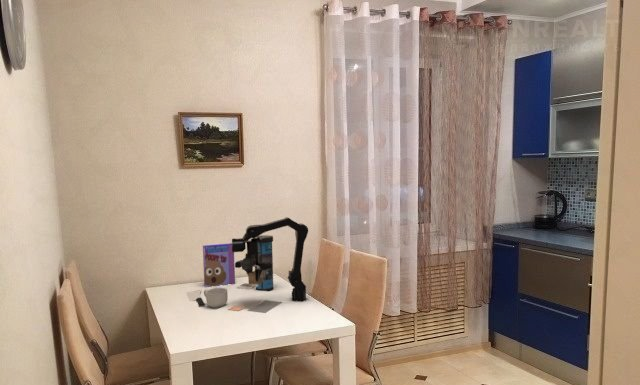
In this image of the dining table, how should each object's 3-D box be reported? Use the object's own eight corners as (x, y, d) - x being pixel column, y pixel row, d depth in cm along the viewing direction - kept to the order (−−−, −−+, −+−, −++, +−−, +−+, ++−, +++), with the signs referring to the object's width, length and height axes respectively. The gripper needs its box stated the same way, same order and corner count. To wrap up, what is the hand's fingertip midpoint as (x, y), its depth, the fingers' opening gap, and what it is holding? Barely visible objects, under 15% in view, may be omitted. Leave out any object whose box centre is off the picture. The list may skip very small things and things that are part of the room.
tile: (245, 306, 218) (238, 310, 212) (245, 309, 218) (238, 313, 212) (234, 305, 220) (227, 309, 215) (234, 308, 220) (227, 312, 215)
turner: (254, 280, 231) (253, 269, 231) (267, 281, 228) (267, 270, 228) (236, 288, 217) (236, 276, 217) (250, 289, 214) (250, 277, 213)
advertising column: (278, 288, 253) (277, 236, 251) (263, 293, 244) (261, 239, 243) (265, 285, 260) (263, 234, 259) (250, 289, 252) (248, 237, 250)
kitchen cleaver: (182, 291, 249) (200, 287, 252) (183, 294, 249) (201, 290, 253) (187, 307, 220) (207, 302, 223) (187, 311, 220) (208, 306, 224)
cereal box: (205, 287, 260) (203, 246, 258) (204, 285, 264) (202, 245, 263) (235, 284, 266) (233, 244, 265) (233, 282, 270) (232, 242, 269)
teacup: (232, 305, 224) (231, 289, 223) (213, 310, 216) (213, 294, 215) (216, 300, 233) (215, 285, 233) (198, 305, 225) (197, 289, 225)
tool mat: (282, 303, 225) (282, 302, 225) (265, 314, 209) (265, 313, 209) (265, 301, 229) (265, 300, 229) (246, 312, 213) (246, 310, 213)
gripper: (227, 253, 219) (229, 284, 220) (260, 254, 212) (262, 287, 213) (240, 249, 230) (241, 278, 231) (272, 250, 222) (273, 281, 223)
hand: (254, 281), depth 224 cm, fingers closed on turner, 3 cm apart
